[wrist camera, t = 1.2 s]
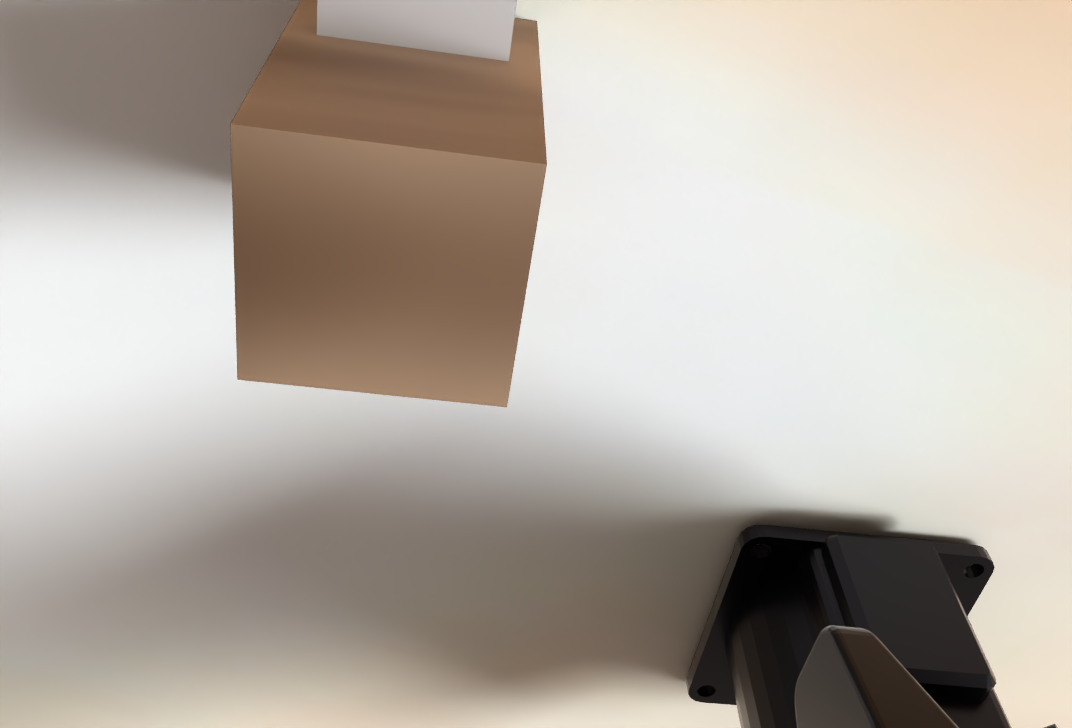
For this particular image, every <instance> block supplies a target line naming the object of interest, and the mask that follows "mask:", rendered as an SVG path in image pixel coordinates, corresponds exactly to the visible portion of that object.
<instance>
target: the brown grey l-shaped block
mask: <svg viewBox="0 0 1072 728" xmlns="http://www.w3.org/2000/svg"><path fill="white" fill-rule="evenodd" d="M516 3H517V0H301V1H300V3H299V5H298V7H297V8H296V10H295V12H294V14H293V15H292V17H291V19H290V21H289V22H288V24H287V26H286V28H285V29H284V31H283V33H282V35H281V36H280V38H279V40H278V42H277V43H276V45H275V47H274V49H273V50H272V52H271V54H270V56H269V57H268V59H267V61H266V63H265V64H264V66H263V68H262V70H261V71H260V73H259V75H258V77H257V78H256V80H255V82H254V84H253V85H252V87H251V89H250V91H249V92H248V94H247V96H246V98H245V99H244V101H243V103H242V105H241V106H240V108H239V110H238V112H237V113H236V115H235V117H234V119H233V120H232V122H231V124H230V128H231V164H232V200H233V236H234V272H235V307H236V343H237V379H238V380H247V381H257V382H267V383H276V384H286V385H296V386H306V387H315V388H325V389H335V390H344V391H354V392H364V393H374V394H383V395H393V396H403V397H412V398H422V399H432V400H441V401H451V402H461V403H471V404H480V405H490V406H500V407H507V403H508V397H509V391H510V385H511V379H512V373H513V366H514V360H515V354H516V348H517V342H518V336H519V330H520V324H521V318H522V312H523V306H524V300H525V294H526V288H527V282H528V275H529V269H530V263H531V257H532V251H533V245H534V239H535V233H536V227H537V221H538V215H539V209H540V203H541V197H542V190H543V184H544V178H545V172H546V166H547V160H546V146H545V131H544V116H543V102H542V87H541V72H540V58H539V43H538V29H537V21H532V20H525V19H518V18H515V10H516Z"/></svg>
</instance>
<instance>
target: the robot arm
mask: <svg viewBox="0 0 1072 728" xmlns="http://www.w3.org/2000/svg"><path fill="white" fill-rule="evenodd" d="M758 544H764V545H762V546H758V547H754V546H756V545H758ZM993 570H994V565H993V562H992V560H991V558H990V556H989V554H988V552H987V550H985V549H984V548H983V547H980V546H977V545H968V544H957V543H947V542H937V541H926V540H916V539H905V538H895V537H884V536H874V535H863V534H853V533H842V532H832V531H821V530H811V529H800V528H790V527H779V526H769V525H755V526H752V527H749V528H747V529H745V530H744V531H742V532H741V534H740V535H739V537H738V539H737V542H736V544H735V547H734V550H733V553H732V555H731V558H730V561H729V564H728V566H727V569H726V572H725V574H724V577H723V580H722V583H721V585H720V588H719V591H718V594H717V596H716V599H715V602H714V605H713V607H712V610H711V613H710V615H709V618H708V621H707V624H706V626H705V629H704V632H703V635H702V637H701V640H700V643H699V646H698V648H697V651H696V654H695V657H694V659H693V662H692V665H691V667H690V670H689V673H688V676H687V688H688V694H689V696H690V697H691V698H692V699H693V700H695V701H699V702H705V703H718V704H731V705H737V709H738V714H739V718H740V723H741V728H1011V726H1010V724H1009V721H1008V719H1007V717H1006V715H1005V713H1004V710H1003V708H1002V706H1001V704H1000V702H999V699H998V697H997V695H996V693H995V691H994V686H995V684H996V679H995V676H994V674H993V672H992V670H991V667H990V665H989V663H988V661H987V659H986V657H985V654H984V652H983V650H982V648H981V646H980V644H979V641H978V639H977V637H976V635H975V633H974V631H973V628H972V626H971V624H970V622H969V620H968V617H967V616H968V614H969V612H970V611H971V609H972V607H973V606H974V604H975V602H976V600H977V599H978V597H979V595H980V594H981V592H982V590H983V588H984V587H985V585H986V583H987V582H988V580H989V578H990V576H991V575H992V573H993ZM1044 728H1058V727H1057V726H1056V725H1055V724H1053V725H1050V726H1047V727H1044Z"/></svg>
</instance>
